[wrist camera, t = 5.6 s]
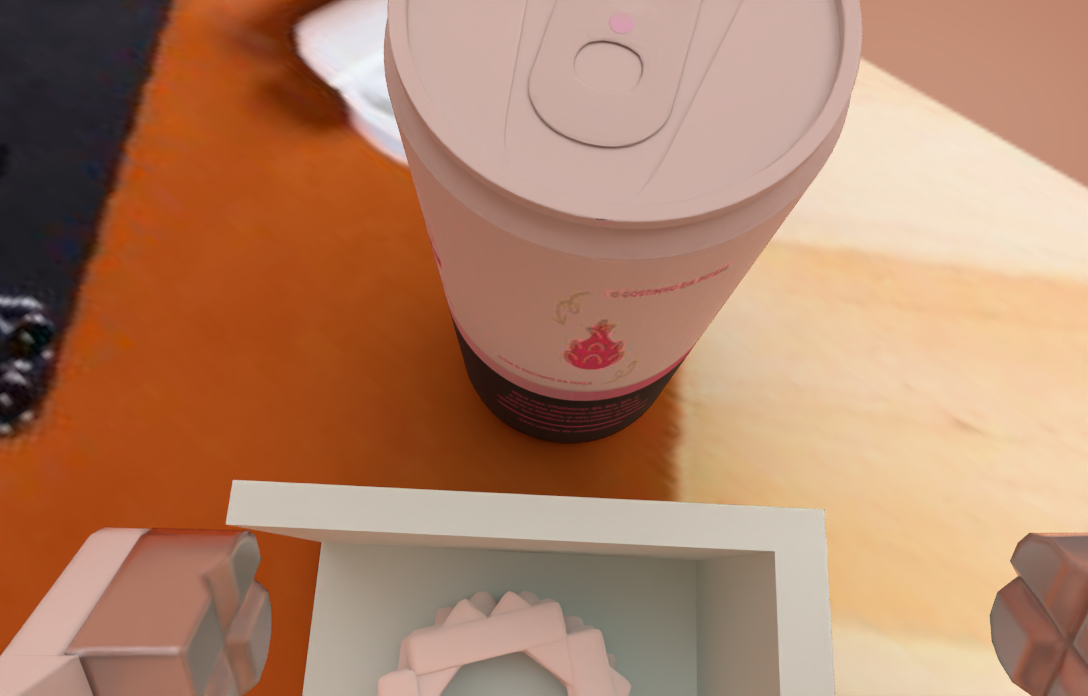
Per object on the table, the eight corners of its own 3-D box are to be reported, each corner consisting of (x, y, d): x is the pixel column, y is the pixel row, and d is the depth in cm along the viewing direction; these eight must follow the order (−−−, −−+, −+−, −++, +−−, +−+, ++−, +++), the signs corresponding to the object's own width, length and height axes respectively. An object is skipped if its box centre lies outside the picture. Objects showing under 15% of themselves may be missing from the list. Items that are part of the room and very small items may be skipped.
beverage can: (691, 279, 25) (912, -119, 11) (640, 472, 23) (824, 301, 9) (499, 225, 26) (467, -230, 11) (435, 410, 24) (294, 149, 9)
